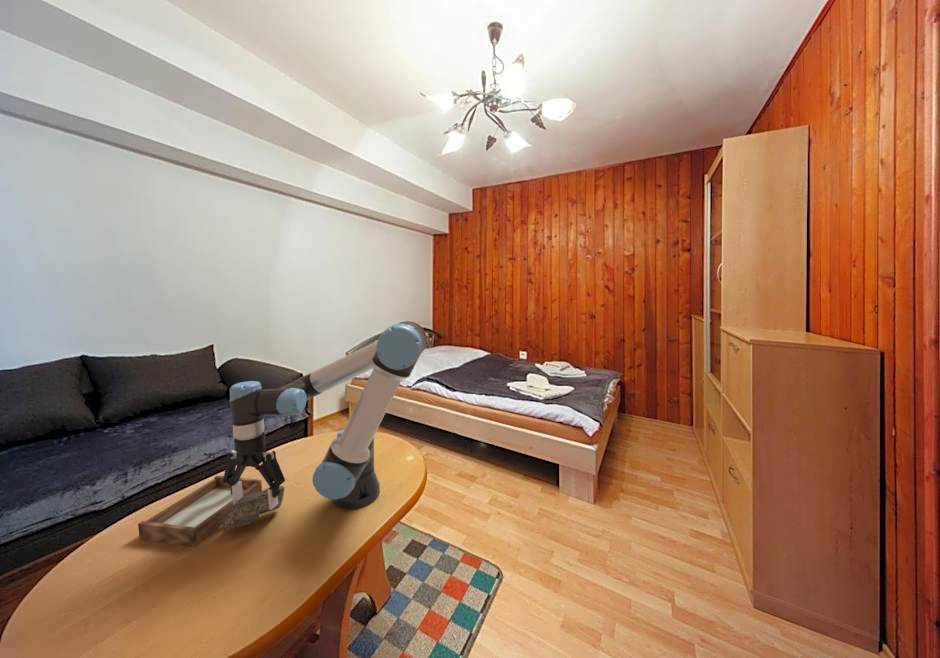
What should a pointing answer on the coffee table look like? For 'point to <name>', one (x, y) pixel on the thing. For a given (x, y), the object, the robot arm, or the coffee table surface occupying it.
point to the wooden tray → (195, 514)
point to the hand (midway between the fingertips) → (256, 505)
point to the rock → (250, 508)
